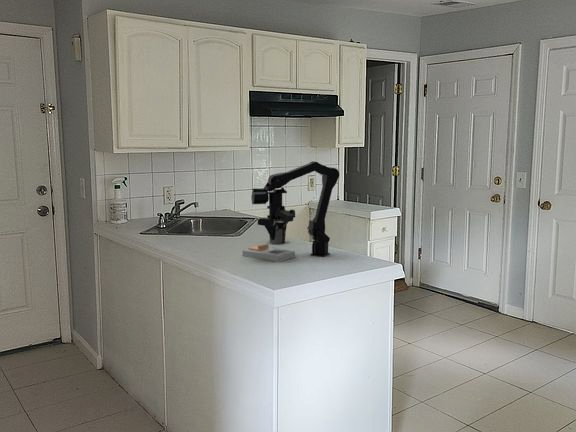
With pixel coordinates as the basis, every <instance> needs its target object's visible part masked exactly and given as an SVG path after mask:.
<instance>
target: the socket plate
mask: <svg viewBox="0 0 576 432" xmlns="http://www.w3.org/2000/svg"><path fill="white" fill-rule="evenodd" d="M268 247H269V246H268ZM241 251H242V252H241V253H242V256H243V257H248V258H253V259H259V260H266V261H270V262H271V261H272V262H277V263H278V262H283V261H286V260H289V259H292V258H295V257H296V251H295V250H289V249H283V248H282V249H281V248H275V247H269V249H266V250H262V251H256V250H249V249H248V248H246V249H243V250H241Z"/></svg>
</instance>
